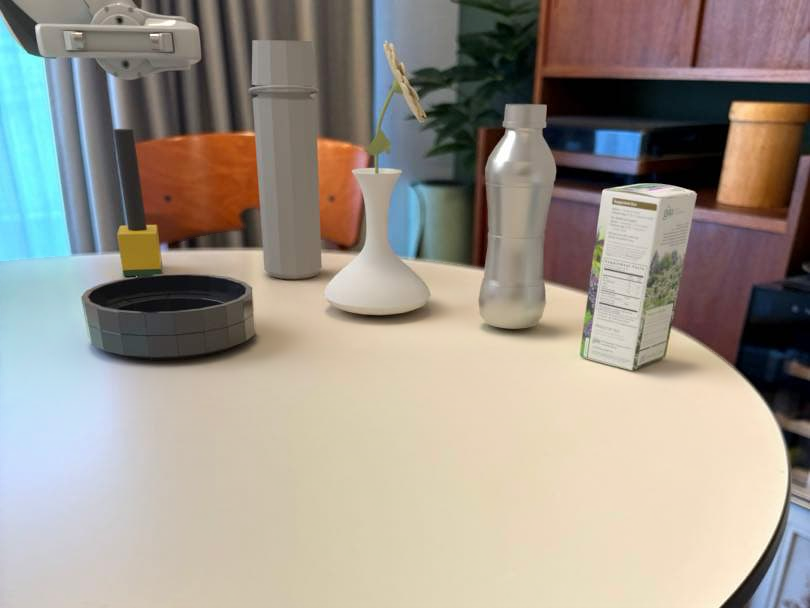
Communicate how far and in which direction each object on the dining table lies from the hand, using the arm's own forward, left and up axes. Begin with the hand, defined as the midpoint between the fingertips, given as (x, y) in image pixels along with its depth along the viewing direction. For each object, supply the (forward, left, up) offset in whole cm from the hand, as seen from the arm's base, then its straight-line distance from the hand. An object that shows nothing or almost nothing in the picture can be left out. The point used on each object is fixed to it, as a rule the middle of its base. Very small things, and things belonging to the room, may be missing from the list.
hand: (117, 41), depth 101 cm
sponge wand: (-3, -12, -25) cm, 28 cm away
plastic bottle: (+26, -52, -25) cm, 63 cm away
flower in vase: (+17, -40, -25) cm, 50 cm away
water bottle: (+14, -20, -25) cm, 35 cm away
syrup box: (+30, -65, -25) cm, 76 cm away
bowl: (-5, -43, -25) cm, 50 cm away
